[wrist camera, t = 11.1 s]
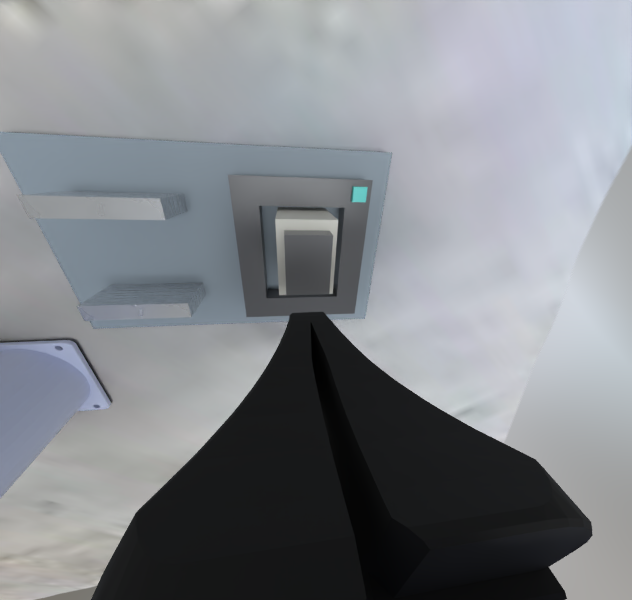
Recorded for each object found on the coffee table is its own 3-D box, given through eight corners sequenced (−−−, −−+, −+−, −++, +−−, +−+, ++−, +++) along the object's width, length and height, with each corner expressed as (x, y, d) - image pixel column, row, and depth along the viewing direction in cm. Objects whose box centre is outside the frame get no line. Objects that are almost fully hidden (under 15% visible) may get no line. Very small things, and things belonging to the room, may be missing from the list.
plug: (280, 266, 17) (278, 304, 12) (277, 206, 15) (274, 223, 10) (321, 265, 17) (336, 302, 12) (324, 207, 15) (342, 223, 10)
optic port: (249, 306, 18) (245, 319, 16) (233, 174, 13) (226, 174, 12) (349, 303, 19) (355, 315, 17) (364, 179, 14) (374, 180, 13)
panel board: (102, 321, 18) (93, 328, 17) (10, 134, 12) (-11, 131, 11) (361, 312, 21) (365, 318, 20) (385, 153, 15) (392, 152, 14)
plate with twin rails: (116, 297, 16) (84, 320, 14) (70, 190, 13) (16, 194, 10) (206, 295, 17) (191, 317, 14) (183, 193, 14) (159, 198, 11)
